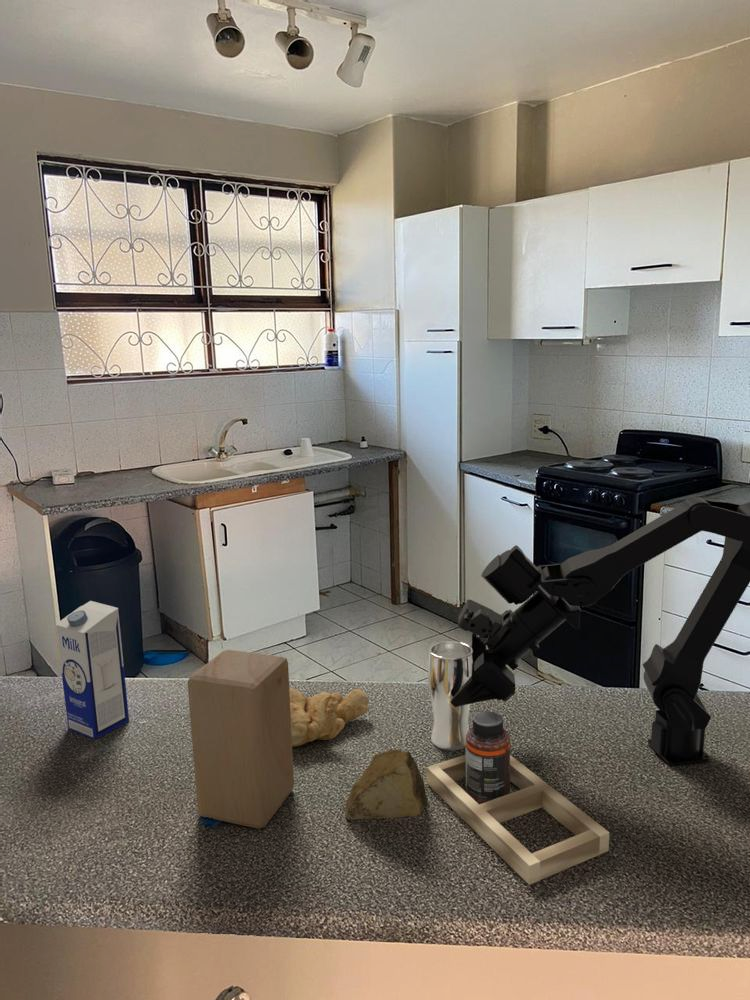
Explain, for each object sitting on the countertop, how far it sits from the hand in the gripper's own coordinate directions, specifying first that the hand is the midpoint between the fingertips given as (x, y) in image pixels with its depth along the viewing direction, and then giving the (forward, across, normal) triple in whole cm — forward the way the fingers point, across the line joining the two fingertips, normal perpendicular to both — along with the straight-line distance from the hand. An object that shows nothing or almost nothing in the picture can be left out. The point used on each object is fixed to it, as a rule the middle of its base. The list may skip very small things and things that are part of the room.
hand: (453, 689), depth 113 cm
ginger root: (+22, -1, -9) cm, 24 cm away
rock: (+12, +18, 0) cm, 22 cm away
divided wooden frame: (0, +18, +12) cm, 21 cm away
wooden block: (+25, +19, -13) cm, 34 cm away
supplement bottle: (+2, +13, +10) cm, 17 cm away
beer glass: (+6, 0, +6) cm, 9 cm away
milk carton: (+47, +1, -34) cm, 58 cm away
